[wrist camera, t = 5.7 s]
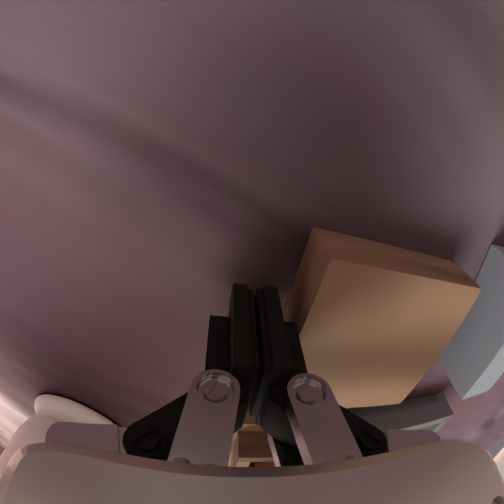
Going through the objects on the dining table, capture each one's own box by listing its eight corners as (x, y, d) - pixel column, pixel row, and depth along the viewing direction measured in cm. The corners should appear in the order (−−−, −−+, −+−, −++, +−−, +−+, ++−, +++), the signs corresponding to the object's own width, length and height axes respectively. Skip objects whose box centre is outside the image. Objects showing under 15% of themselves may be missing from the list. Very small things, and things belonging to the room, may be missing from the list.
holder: (223, 409, 16) (222, 451, 14) (342, 408, 17) (353, 444, 15) (217, 455, 20) (217, 485, 17) (310, 453, 21) (315, 482, 18)
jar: (165, 437, 18) (152, 608, 5) (111, 457, 21) (92, 579, 8) (40, 364, 14) (-25, 552, 1) (18, 403, 17) (-24, 529, 4)
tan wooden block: (309, 221, 11) (331, 258, 9) (448, 256, 13) (481, 289, 10) (260, 360, 15) (264, 406, 12) (383, 367, 16) (399, 403, 13)
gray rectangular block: (491, 243, 12) (537, 282, 8) (515, 249, 12) (556, 284, 9) (434, 354, 15) (460, 399, 12) (462, 350, 16) (488, 390, 12)
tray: (349, 407, 17) (358, 437, 15) (442, 392, 18) (453, 414, 16) (309, 461, 22) (312, 483, 20) (389, 448, 23) (395, 467, 20)
